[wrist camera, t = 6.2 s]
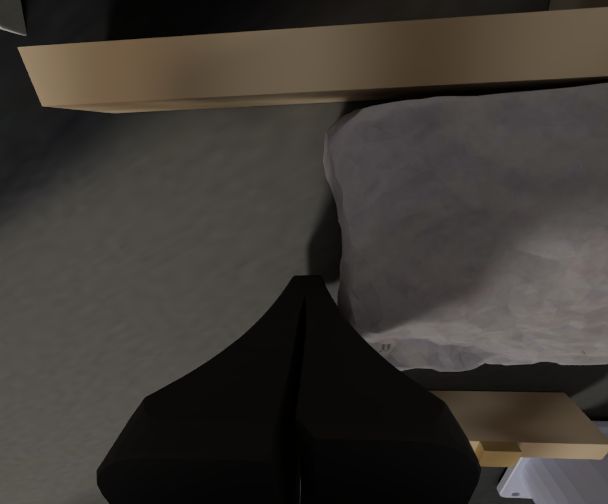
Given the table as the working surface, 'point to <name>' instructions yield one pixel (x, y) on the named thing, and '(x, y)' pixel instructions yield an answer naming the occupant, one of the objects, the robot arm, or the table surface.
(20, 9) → the external hard drive
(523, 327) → the stone block
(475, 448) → the beam track
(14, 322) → the table surface
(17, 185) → the table surface
